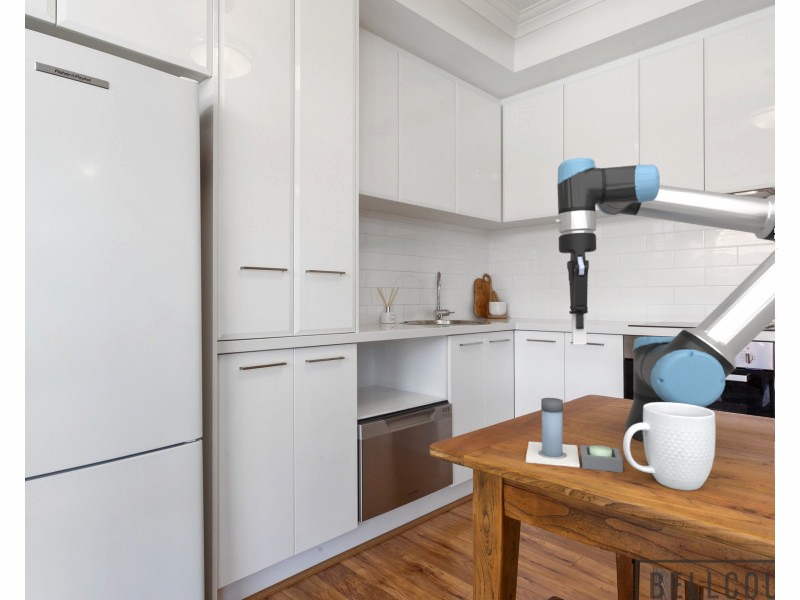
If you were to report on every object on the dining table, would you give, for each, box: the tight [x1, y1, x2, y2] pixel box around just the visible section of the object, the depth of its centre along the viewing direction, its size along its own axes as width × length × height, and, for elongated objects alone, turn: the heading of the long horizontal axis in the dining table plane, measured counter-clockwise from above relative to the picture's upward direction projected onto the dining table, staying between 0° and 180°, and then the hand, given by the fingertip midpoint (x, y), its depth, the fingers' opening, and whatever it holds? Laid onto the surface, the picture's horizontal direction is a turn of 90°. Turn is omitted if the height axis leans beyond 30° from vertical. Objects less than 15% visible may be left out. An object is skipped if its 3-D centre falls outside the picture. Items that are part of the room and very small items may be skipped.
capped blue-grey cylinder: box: [540, 397, 564, 457], centre depth 99 cm, size 4×4×11 cm
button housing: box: [580, 444, 624, 474], centre depth 95 cm, size 7×7×2 cm
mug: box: [622, 402, 717, 491], centre depth 85 cm, size 15×11×13 cm
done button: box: [589, 444, 612, 457], centre depth 95 cm, size 4×4×3 cm
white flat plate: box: [525, 440, 581, 468], centre depth 100 cm, size 10×12×1 cm
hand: (579, 344), depth 104 cm, fingers closed
